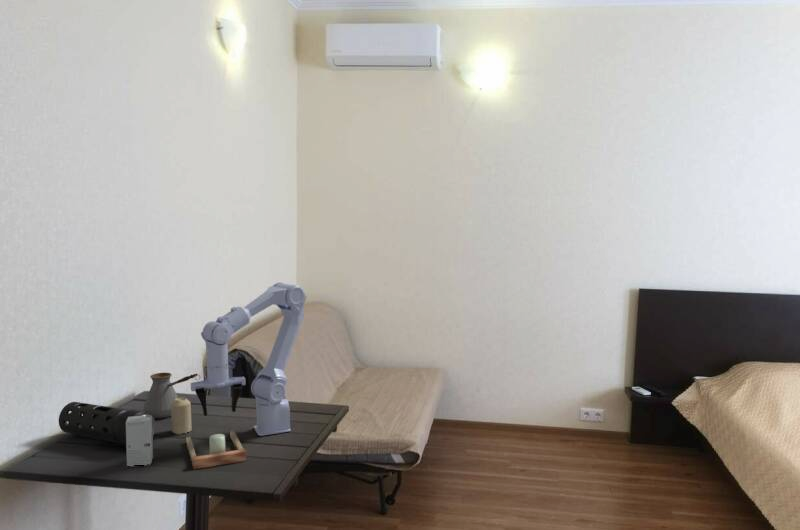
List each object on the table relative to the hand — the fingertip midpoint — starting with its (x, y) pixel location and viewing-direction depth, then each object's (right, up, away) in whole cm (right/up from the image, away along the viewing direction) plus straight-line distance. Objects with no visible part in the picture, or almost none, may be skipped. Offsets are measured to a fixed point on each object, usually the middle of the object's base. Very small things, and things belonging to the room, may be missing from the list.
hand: (219, 412), depth 184 cm
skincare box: (-18, -11, -11) cm, 23 cm away
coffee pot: (-21, -7, +26) cm, 34 cm away
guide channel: (-1, -10, -2) cm, 10 cm away
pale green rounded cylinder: (+2, -10, -8) cm, 13 cm away
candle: (-15, -8, +12) cm, 21 cm away
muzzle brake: (-33, -10, +5) cm, 35 cm away
